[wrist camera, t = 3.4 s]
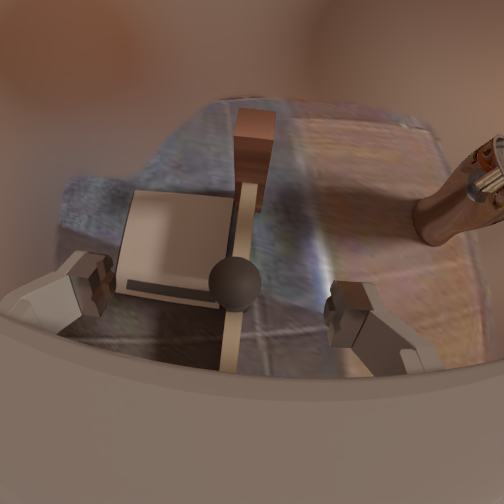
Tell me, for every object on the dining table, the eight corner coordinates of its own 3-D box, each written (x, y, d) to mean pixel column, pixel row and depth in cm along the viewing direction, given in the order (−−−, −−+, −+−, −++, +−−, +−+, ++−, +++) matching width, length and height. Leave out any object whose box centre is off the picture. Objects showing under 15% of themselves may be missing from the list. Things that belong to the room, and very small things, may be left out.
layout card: (219, 308, 26) (218, 308, 26) (114, 292, 26) (113, 291, 26) (233, 199, 29) (233, 198, 28) (135, 191, 28) (135, 190, 28)
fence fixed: (235, 440, 23) (232, 515, 11) (208, 436, 23) (187, 509, 11) (252, 288, 26) (263, 259, 14) (225, 284, 26) (212, 253, 14)
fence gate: (252, 284, 26) (262, 253, 14) (226, 281, 26) (214, 248, 14) (262, 190, 28) (276, 111, 17) (238, 188, 28) (239, 107, 17)
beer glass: (411, 246, 28) (505, 194, 14) (406, 191, 30) (482, 121, 15) (453, 253, 28) (542, 213, 14) (447, 202, 30) (523, 147, 15)
